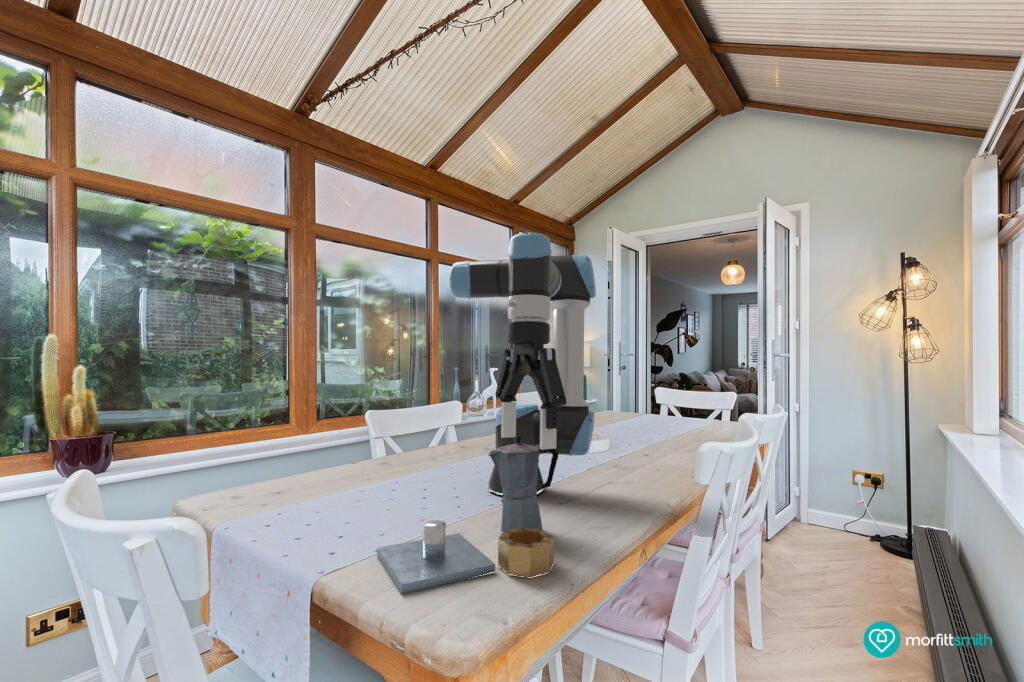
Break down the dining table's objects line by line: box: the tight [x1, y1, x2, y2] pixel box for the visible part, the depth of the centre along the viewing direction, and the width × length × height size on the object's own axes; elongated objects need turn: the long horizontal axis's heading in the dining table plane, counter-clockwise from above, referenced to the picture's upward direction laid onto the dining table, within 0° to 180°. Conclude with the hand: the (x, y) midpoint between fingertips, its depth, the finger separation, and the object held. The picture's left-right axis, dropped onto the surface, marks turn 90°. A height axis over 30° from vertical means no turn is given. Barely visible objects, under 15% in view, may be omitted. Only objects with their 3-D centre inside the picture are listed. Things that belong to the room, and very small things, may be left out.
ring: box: [497, 527, 555, 577], centre depth 85 cm, size 9×9×5 cm
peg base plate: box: [376, 519, 496, 595], centre depth 85 cm, size 16×16×7 cm
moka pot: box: [487, 436, 559, 532], centre depth 102 cm, size 10×15×20 cm, turn 111°
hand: (526, 442), depth 85 cm, fingers open, 13 cm apart
